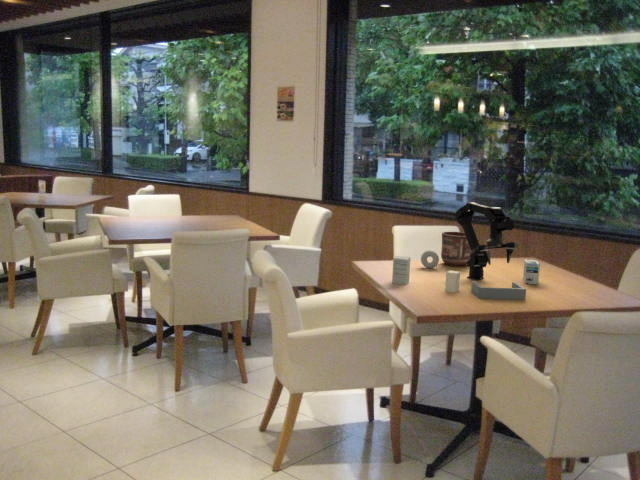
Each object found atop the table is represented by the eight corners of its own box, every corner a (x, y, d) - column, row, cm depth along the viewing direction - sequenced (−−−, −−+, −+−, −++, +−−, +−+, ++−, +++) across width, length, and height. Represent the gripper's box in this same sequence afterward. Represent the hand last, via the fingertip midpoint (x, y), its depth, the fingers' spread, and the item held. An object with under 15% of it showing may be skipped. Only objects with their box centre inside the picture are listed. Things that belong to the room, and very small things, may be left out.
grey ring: (438, 268, 349) (440, 250, 347) (437, 269, 345) (439, 251, 344) (420, 266, 352) (422, 249, 350) (419, 267, 349) (420, 250, 347)
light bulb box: (538, 284, 318) (540, 263, 316) (524, 283, 319) (526, 262, 318) (535, 280, 328) (537, 260, 327) (522, 279, 330) (524, 259, 328)
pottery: (465, 269, 350) (467, 237, 347) (435, 264, 359) (437, 233, 356) (475, 264, 365) (478, 234, 362) (446, 260, 374) (448, 230, 371)
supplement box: (394, 280, 316) (396, 255, 314) (409, 281, 313) (411, 256, 311) (391, 283, 309) (393, 257, 307) (406, 284, 306) (408, 259, 304)
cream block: (448, 288, 302) (450, 270, 300) (458, 290, 299) (460, 271, 298) (444, 290, 298) (446, 272, 296) (455, 292, 295) (456, 273, 294)
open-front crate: (471, 291, 299) (471, 280, 298) (514, 292, 300) (515, 282, 299) (479, 298, 285) (480, 287, 284) (525, 299, 286) (526, 289, 285)
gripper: (472, 233, 310) (474, 265, 309) (509, 230, 299) (512, 262, 298) (480, 234, 319) (482, 265, 318) (516, 230, 308) (519, 262, 307)
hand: (498, 264), depth 310 cm, fingers open, 9 cm apart
